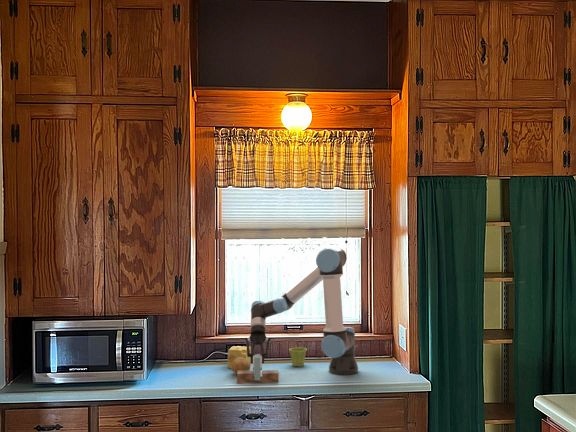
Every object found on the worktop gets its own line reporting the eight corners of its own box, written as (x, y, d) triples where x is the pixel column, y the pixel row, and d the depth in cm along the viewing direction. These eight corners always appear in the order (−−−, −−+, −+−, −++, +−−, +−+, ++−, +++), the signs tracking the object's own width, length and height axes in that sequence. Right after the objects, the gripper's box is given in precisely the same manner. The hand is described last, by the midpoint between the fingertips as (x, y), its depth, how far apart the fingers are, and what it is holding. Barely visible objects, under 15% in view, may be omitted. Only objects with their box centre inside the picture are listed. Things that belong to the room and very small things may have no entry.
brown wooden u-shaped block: (278, 379, 324) (278, 370, 324) (278, 382, 318) (278, 373, 318) (237, 379, 324) (237, 370, 324) (237, 382, 318) (237, 373, 318)
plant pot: (286, 364, 356) (286, 348, 356) (302, 362, 360) (302, 346, 360) (293, 368, 347) (293, 351, 347) (309, 366, 351) (309, 350, 351)
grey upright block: (254, 376, 325) (254, 354, 324) (260, 376, 325) (260, 353, 325) (254, 380, 317) (254, 357, 316) (260, 380, 317) (260, 357, 317)
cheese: (246, 369, 346) (246, 350, 346) (226, 368, 348) (226, 349, 348) (251, 364, 356) (251, 346, 356) (232, 363, 358) (232, 345, 358)
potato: (233, 378, 327) (233, 362, 327) (230, 371, 341) (230, 356, 341) (252, 377, 329) (252, 361, 329) (249, 370, 342) (249, 355, 342)
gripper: (273, 332, 338) (273, 372, 322) (242, 332, 338) (241, 372, 321) (273, 323, 333) (273, 364, 316) (242, 324, 332) (240, 364, 316)
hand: (257, 368), depth 319 cm, fingers closed on grey upright block, 3 cm apart
